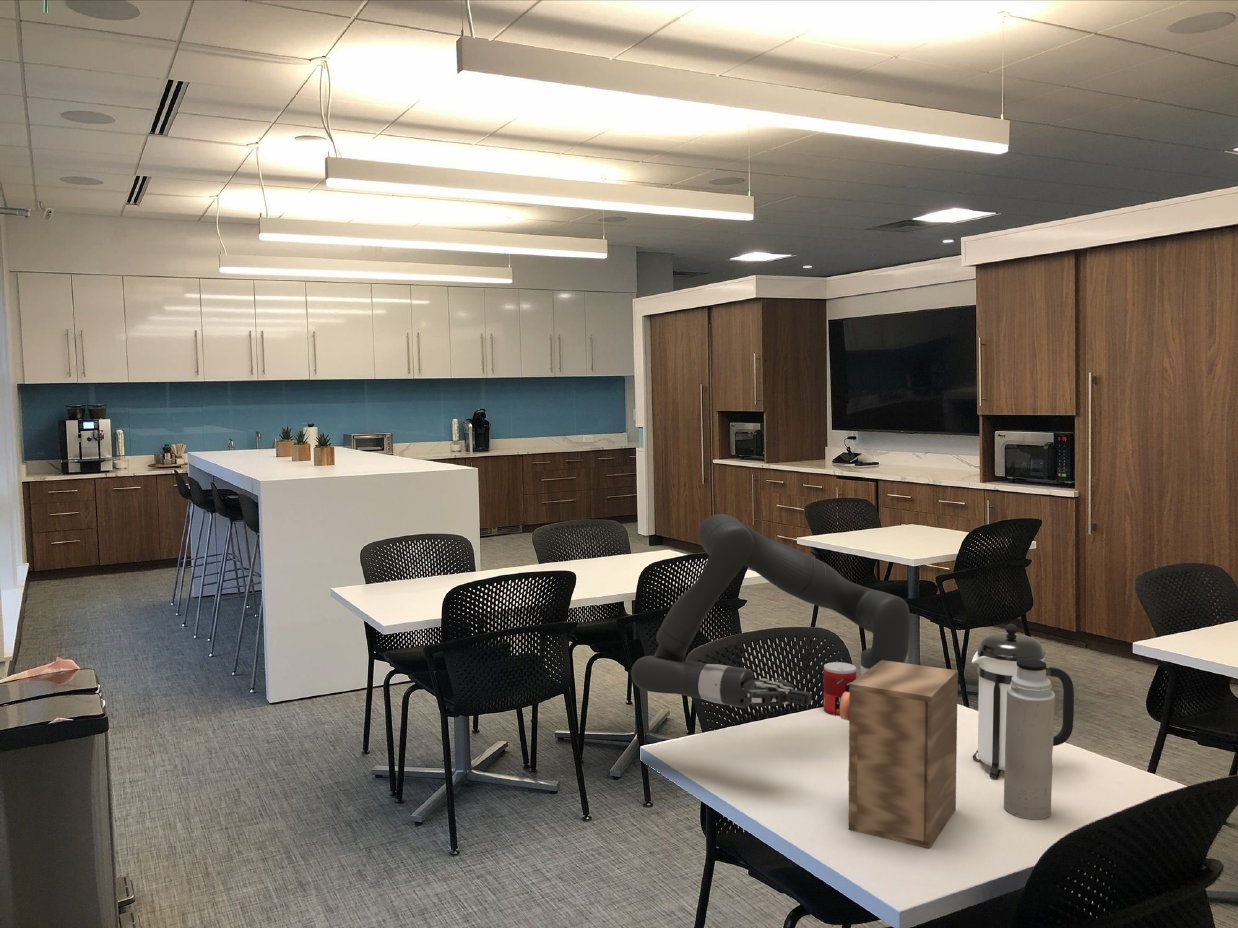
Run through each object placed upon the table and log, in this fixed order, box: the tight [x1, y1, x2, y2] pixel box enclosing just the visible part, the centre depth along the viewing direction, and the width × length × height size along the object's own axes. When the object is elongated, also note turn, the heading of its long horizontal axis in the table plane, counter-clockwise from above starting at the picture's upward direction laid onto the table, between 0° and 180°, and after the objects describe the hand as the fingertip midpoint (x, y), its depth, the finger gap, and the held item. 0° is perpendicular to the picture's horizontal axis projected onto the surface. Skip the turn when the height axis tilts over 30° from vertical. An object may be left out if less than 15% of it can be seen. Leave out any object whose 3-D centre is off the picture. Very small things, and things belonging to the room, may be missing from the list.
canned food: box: [823, 661, 857, 717], centre depth 233 cm, size 8×8×11 cm
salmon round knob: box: [839, 692, 850, 721], centre depth 174 cm, size 14×5×5 cm, turn 57°
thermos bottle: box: [1003, 658, 1056, 820], centre depth 175 cm, size 8×8×28 cm
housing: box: [848, 660, 959, 849], centre depth 173 cm, size 14×18×26 cm
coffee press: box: [971, 623, 1075, 780], centre depth 196 cm, size 17×16×30 cm
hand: (809, 699), depth 182 cm, fingers closed
